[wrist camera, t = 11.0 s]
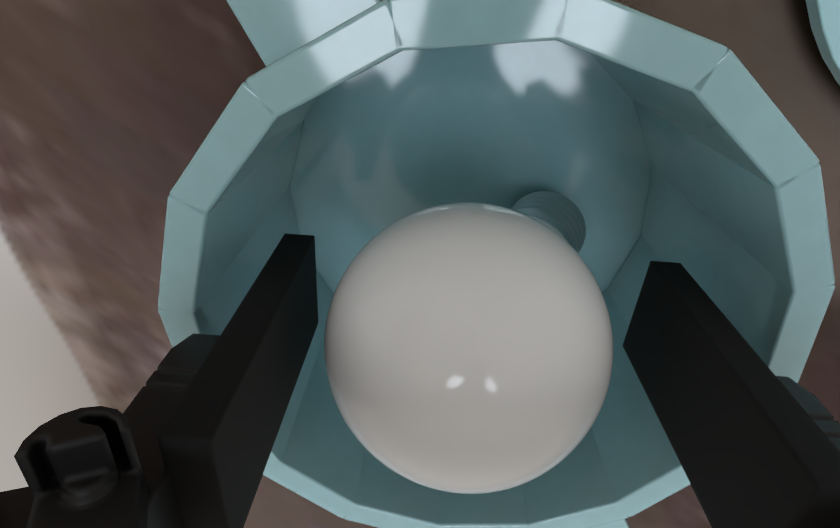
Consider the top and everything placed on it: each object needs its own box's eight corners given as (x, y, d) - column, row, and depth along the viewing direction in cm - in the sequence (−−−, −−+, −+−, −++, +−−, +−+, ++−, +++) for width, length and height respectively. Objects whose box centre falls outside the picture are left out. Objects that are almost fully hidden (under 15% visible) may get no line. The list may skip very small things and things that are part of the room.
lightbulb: (552, 87, 16) (361, 197, 7) (694, 233, 16) (675, 524, 7) (435, 212, 20) (220, 381, 11) (548, 329, 20) (420, 592, 11)
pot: (567, -233, 13) (738, -530, 5) (717, 333, 21) (866, 525, 14) (142, 37, 16) (-109, 84, 9) (414, 431, 25) (401, 625, 17)
